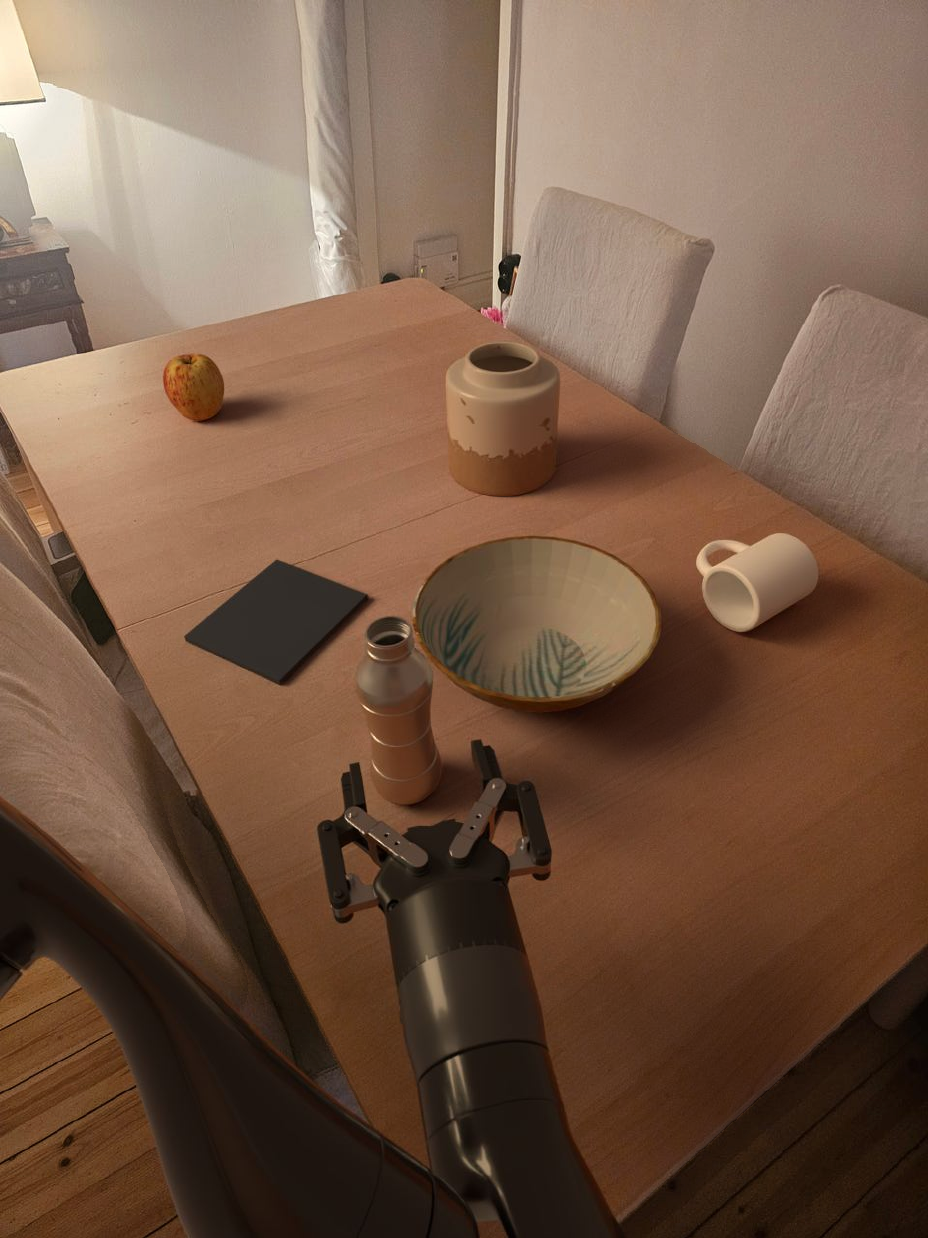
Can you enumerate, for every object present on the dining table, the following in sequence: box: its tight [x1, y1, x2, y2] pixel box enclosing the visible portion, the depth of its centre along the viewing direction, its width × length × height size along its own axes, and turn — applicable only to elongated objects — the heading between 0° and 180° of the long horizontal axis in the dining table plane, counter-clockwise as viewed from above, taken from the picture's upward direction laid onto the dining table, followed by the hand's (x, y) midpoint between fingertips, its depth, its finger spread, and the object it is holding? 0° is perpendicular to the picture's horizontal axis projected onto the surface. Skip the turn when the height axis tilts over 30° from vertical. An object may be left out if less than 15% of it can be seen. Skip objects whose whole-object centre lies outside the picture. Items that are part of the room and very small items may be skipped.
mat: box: [183, 559, 369, 686], centre depth 95 cm, size 16×14×1 cm
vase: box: [444, 341, 561, 497], centre depth 112 cm, size 15×15×17 cm
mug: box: [695, 532, 819, 633], centre depth 93 cm, size 12×10×8 cm
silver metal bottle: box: [353, 615, 443, 806], centre depth 71 cm, size 6×7×20 cm
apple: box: [162, 353, 225, 422], centre depth 129 cm, size 9×9×10 cm
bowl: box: [412, 535, 662, 713], centre depth 86 cm, size 25×25×8 cm
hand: (416, 758), depth 57 cm, fingers open, 8 cm apart
